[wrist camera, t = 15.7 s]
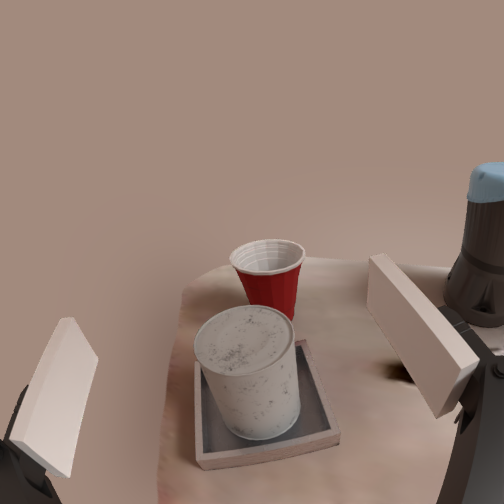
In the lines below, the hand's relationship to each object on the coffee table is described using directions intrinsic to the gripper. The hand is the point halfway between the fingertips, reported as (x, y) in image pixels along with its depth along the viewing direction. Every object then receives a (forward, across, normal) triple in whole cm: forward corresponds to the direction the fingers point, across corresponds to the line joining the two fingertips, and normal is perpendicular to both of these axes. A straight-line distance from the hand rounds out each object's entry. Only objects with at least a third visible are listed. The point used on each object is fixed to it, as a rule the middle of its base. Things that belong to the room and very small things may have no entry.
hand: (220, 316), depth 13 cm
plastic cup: (+28, +5, -25) cm, 38 cm away
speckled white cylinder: (+11, 0, -24) cm, 27 cm away
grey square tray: (+11, 0, -25) cm, 27 cm away
